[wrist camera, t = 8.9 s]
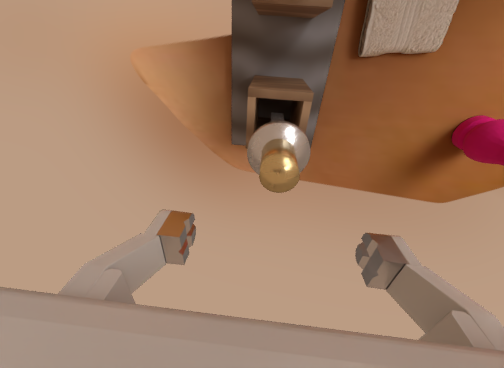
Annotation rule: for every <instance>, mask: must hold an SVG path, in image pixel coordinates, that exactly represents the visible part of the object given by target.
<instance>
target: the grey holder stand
mask: <svg viewBox="0 0 504 368" xmlns="http://www.w3.org/2000/svg"><path fill="white" fill-rule="evenodd" d="M344 3H345V0H232V144H234V145H246V148H248V144H249V141H250V138H251V136H252V135H253V133H254V132H255V131H256V130H257V129H258V128H259V127H261V126H262V125H264V124H266V123H269V122H271V113H272V112H274V113H283V116H284V121H287V122H291V123H293V124H295V125H297V126H298V127H299V128H301V129H302V131H303V132H304V133H305V135H306V136H307V139H308V141H309V145H310V148H311V144H312V140H313V135H314V131H315V127H316V123H317V118H318V114H319V110H320V106H321V101H322V97H323V93H324V88H325V84H326V80H327V76H328V71H329V67H330V63H331V59H332V54H333V50H334V46H335V42H336V37H337V33H338V29H339V25H340V20H341V16H342V12H343V7H344Z"/></svg>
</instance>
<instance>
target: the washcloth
mask: <svg viewBox="0 0 504 368" xmlns="http://www.w3.org/2000/svg"><path fill="white" fill-rule="evenodd" d="M458 2H459V0H368V4H367V9H366V15H365V19H364V24H363V28H362V33H361V37H360V42H359V49H358V55H359V57H369V56H378V55H381V54H385V53H398V52H399V53H403V54H417V53H428V52H430V53H431V52H434V51H436V50H437V49H439V47H440V45H441V44H442V43H443V38H444V37H445V35H446V33H447V30H448V26H449V25H450V23H451V21H452V16H453V13H454V12H455V11H456V7H457V4H458Z"/></svg>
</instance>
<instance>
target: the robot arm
mask: <svg viewBox="0 0 504 368" xmlns="http://www.w3.org/2000/svg"><path fill="white" fill-rule="evenodd" d="M194 220H195V218H194V214H193V213H187V212H179V211H170V210H161V211H160V212H159V213H158V214H157V216H156V217H155V219H154V220H153V221H152V223H151V224H150V226H149V227H148V229H147V230H146V231H145V233H144V234H141V233H140V234H139V235H137V236H135V237H133V238H132V239H130V240H128V241H126V242H124V243H122V244H120V245H118V246H117V247H115V248H113V249H111V250H109V251H107V252H106V253H104V254H102V255H100V256H98V257H96V258H95V259H93V260H91V261H89V262H87V263H85V264H84V265H83V266H82V267H81V269H79V271H78V272H77V273H76V274H75V275H74V276H73V277H72V278H71V280H70V281H69V282H68V283H67V284H66V285H65V286H64V287H63V289H62V290H61V291H60V292H59V293H58V294H51V293H44V292H36V291H28V290H21V289H12V288H5V287H0V368H504V327H503V325H502V324H501V323H500V322H499V320H498V319H497V318H496V317H495V316H494V315H493V314H492V313H490V312H489V311H488V310H486V309H485V308H484V307H482V306H481V305H479V304H478V303H476V302H475V301H473V300H472V299H471V298H469V297H468V296H467V295H465V294H464V293H462V292H461V291H460V290H458V289H457V288H455V287H454V286H452V285H451V284H450V283H448V282H447V281H445V280H444V279H443V278H441V277H440V276H438V275H437V274H435V273H434V272H433V271H431V270H430V269H429V268H427V267H425V266H422V265H421V264H420V262H419V261H418V259H417V258H416V257H415V255H414V254H413V252H412V251H411V249H410V248H409V246H407V244H406V242H405V241H404V239H403V238H401V237H400V236H394V235H383V234H373V233H365V234H364V235H363V236H362V238H361V239H362V241H363V242H362V243H361V244H359V245H358V246H357V248H356V255H355V256H356V261H357V263H358V265H359V266H360V267H361V268H362V269H363V271H362V273H361V274H362V276H363V279H364V281H365V284H366V286H367V287H371V288H378V289H384V290H386V291H387V292H388V293H389V294H390V295H391V297H393V299H394V300H395V301H396V302H397V303H398V304H399V305H400V306H401V307H402V308H403V309H404V311H405V312H406V313H407V314H408V315H409V316H410V317H411V318H412V319H413V320H414V321H415V322H416V323H417V325H418V326H419V327H420V328H421V329H422V330H423V331H424V332H425V335H423V336H422V337H421V338H420V339H419V340H413V339H405V338H397V337H390V336H382V335H374V334H366V333H358V332H350V331H343V330H335V329H327V328H318V327H311V326H303V325H295V324H288V323H279V322H272V321H264V320H255V319H248V318H239V317H232V316H224V315H216V314H208V313H201V312H193V311H185V310H176V309H169V308H161V307H153V306H146V305H145V306H144V305H138V304H135V301H134V299H133V297H132V295H131V294H132V293H133V292H134V291H135V290H136V289H138V288H139V287H140V286H141V285H142V284H143V283H145V282H146V281H147V280H148V279H149V278H151V277H152V276H153V275H154V274H155V273H156V272H157V271H159V270H160V269H161V268H162V267H163V266H164V265H166V263H170V264H180V265H184V264H185V262H186V259H187V257H188V255H189V247H191V246H192V245H193V242H194V239H195V235H196V227H195V225H194V224H193V222H194Z"/></svg>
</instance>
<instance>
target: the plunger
mask: <svg viewBox="0 0 504 368" xmlns="http://www.w3.org/2000/svg"><path fill="white" fill-rule="evenodd" d="M247 157H248V161H249V163H250V166H251V167H252V169H253V170H254V171H255V172H256V173H257V174H259V178H260V182H261V184H262V185H263V186H264V187H265V188H266V189H267V190H269V191H272V192H277V193H281V192H286V191H289V190H291V189H292V188H294V186H296V184H297V183H298V181H299V177H300V172H301V171H302V170H303V169H304V168H305V166H306V165H307V163H308V161H309V158H310V145H309V141H308V139H307V136H306V135H305V133H304V132H303V131H302V129H301V128H299V127H298V126H297V125H295V124H293V123H291V122H287V121H284V116H283V113H274V112H272V113H271V122H269V123H266V124H264V125H262V126H261V127H259V128H258V129H257V130H256V131H255V132H254V133H253V135H252V136H251V138H250V141H249V144H248V149H247Z"/></svg>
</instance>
